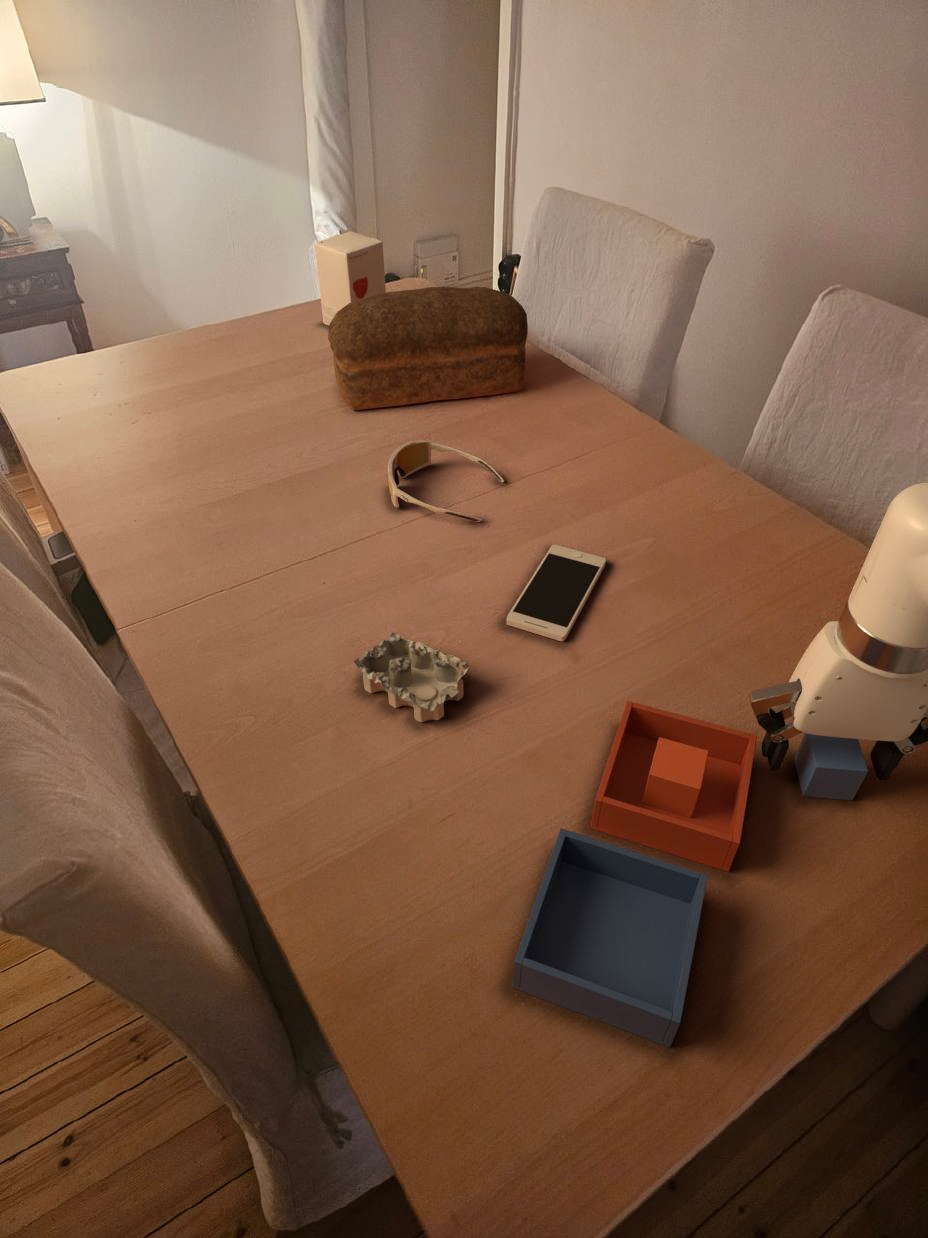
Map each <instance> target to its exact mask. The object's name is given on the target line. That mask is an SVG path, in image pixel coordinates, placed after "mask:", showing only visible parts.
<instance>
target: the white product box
mask: <svg viewBox="0 0 928 1238" xmlns="http://www.w3.org/2000/svg"><path fill="white" fill-rule="evenodd" d="M383 242H384V241H382V240H380V239H377V238H374V237H371V236H366V235H364V234H361V233H359V232H356V231H353V230H350V231H347V232H344V233H340V234H337V235H333V236H330V237H328V238H325V239H321V240H318V241H315V242H314V253H315V262H316V268H317V270H316V271H317V279H318V286H319V295H320V304H321V305H320V306H321V313H322V322H323V325H326V326H328V327H329V324H330V322H331V321H332V319H333V318H334V316H335V315H336V313H337V312H338V311H339V310H341V309H342V308H343V307H345V306H346V305H347V304H349V303H352V302H355V301H358V300H362V299H365V298H368V297H371V296H374V295H378V294H382V293H386V292H387V290H386V273H385V259H384V258H385V257H384V245H383V244H384V243H383Z"/></svg>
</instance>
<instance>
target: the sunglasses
mask: <svg viewBox="0 0 928 1238" xmlns="http://www.w3.org/2000/svg"><path fill="white" fill-rule="evenodd" d="M432 450H434V451H438V452H441V453H453V454H458V455H460V456H462V457H465V458H466V459H468V460H470V461H473V462H476V463H478V464H480V465H481V466H483V467H484V468H486V470H488V471H489V472H490V473H491V474H492V475H493V476H494V477H495V478H496V479H497V480H498V481H499V482H500V483H505V480H504V478H502V476H501V475H500V473H498V472H497V471H496V470H495V468H493V467H492V466H491V465H489V464H488V463H487V462H486V461H485V460H483V459H481V458H480V457H478V456H475V455H472V454H470V453H467V452H465V451H462V450H459V449H458V448H454V447H451V446H448V445H445V444H440V443H437V442H432V441H429V440H427V439H420V440H409V441H406V442H404V443H403V444H401V445H400V446H398V447H397V448H396V449H394V451H393V452H392V454H391V455H390V457H389V460H388V463H387V464H388V465H387V470H388V472H387V480H388V491H389V494H390V497H391V502H392V505H393V507H395V508H400V504H399V499H398V498H400V499H402V500H403V501H405V502H406V503H410V504H414V505H417V506H419V507H423V508H426V509H428V510H429V511H432V512H435V513H438V514H443V515H448V516H452V517H456V518H460V519H464V520H467V521H471V522H476V523H480V522H482V521H483V519H482V518H479V517H476V516H473V515H468V514H464V513H462V512H457V511H455V510H451V509H448V508H442V507H437V506H434V505H431V504H428V503H427V502H423V501H422V500H419V499H417V498H415V497H413V496H411V495H409V494H408V493H406V492H404V491H403V490H402V489H400V488H398V486H399V485H400V478H404V479H405V478H407V477H408V476H410V475H411V474H414V473H415V472H417V471H419V470H421V469H423V468H424V467H427V466H429V465H430V464H431V462H432V461H431V460H432Z"/></svg>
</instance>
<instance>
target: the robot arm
mask: <svg viewBox="0 0 928 1238" xmlns="http://www.w3.org/2000/svg"><path fill="white" fill-rule="evenodd" d="M868 550H869V551H868V552H867V555H866V557H865V560H864V562H863V564H862V567H861V569H860V570H859V574H858V576H857V577H856V580H855V582H854V585H853V588H852V589H851V592H850V594H849V596H848V599H847V601H846V603H845V605H844V607H843V610H842V612H841V615H840V616H839V619H838V620H830V621H828V622H827V623H826V624H825V625H824V626H823V627H822V628H821V629H820V631H818V633H817V634H816V635H815V637H814V638H813V639H812V641H811V642H810V644H809V645H808V646H807V648H806V650H805V651H804V653H803V655H802V656H801V657H800V660H799V662H798V663H797V665H796V667H795V669H794V670H793V672H792V675H791V677H790V678H789V681H788V682H785V683H781V684H776V685H773V686H772V685H771V686H769V687H764V688H759V689H755V690H751V691H750V692H749V693H748V696H749V702H750V706H751V708H752V711H753V715H754V716H755V718H756V720H757V724H758V725H759V726H760V727H761V728H762V729H763V730H764V731H765V732H766V733H765V734H764V736H763V738H762V742H761V747H760V748H761V754H762V757H763V758H767V763H768V769H769V772H770V771H771V772H777V771H778V770H780V768H781V766H782V764H783V762H784V759H785V757H786V755H787V753H788V750H789V748H790V742H789V740H790V739H792V738H794V737H796V736H798V735H800V734H802V733H808V734H812V735H820V736H830V737H841V738H852V739H858V740H866V741H875V743H874V745H873V747H872V749H871V751H870V753H869V756H870V757H869V758H870V760H871V763H872V766H873V769H874V773H875V776H876V779H877V780H878V781H882V782H887V781H888V779H889V778H890V776H891V774H892V773H893V771H894V769H896V768H897V767H898V766H899V764H900V762H901V761H902V759H903V757H904V756H905V755H909V754H913V753H914V752H915V751H916V747H917V746H919V745H922V744H925V743H927V742H928V482H927V481H926V482H922V483H917V484H916V483H915V484H913V485H911V486H908V487H907V488H905V489H903V490H902V491H900V492H899V493H898V494H897V495H896V496H895V497H894V498H893V499H892V501H891V502H890V503H889V506H888V508H887V509H886V512H885V513H884V516H883V518H882V521H881V522H880V525H879V528H878V530H877V532H876V535H875V537H874V539H873V541H872V544H871V546H870V548H869V549H868ZM777 706H779V707H777ZM772 707H776V708H774V709H773V708H772ZM791 717H792V721H791V722H789V723H786V720H788V719H789V718H791Z"/></svg>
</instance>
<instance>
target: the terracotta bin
mask: <svg viewBox="0 0 928 1238" xmlns="http://www.w3.org/2000/svg"><path fill="white" fill-rule="evenodd" d="M659 737H661V738H664V739H668V740H672V741H675V742H679V743H682V744H686V745H690V746H693V747H697V748H700V749H704V750H708V757H707V762H706V766H705V771H704V776H703V780H702V785H701V790H700V793H699V796H698V799H697V802H696V806H695V809H694V812H693V815H692V818H688V817H685V816H681V815H678V814H675V813H672V812H668V811H665V810H662V809H658V808H655V807H652V806H648V805H645V804H642V801H643V797H644V793H645V789H646V785H647V780H648V776H649V772H650V769H651V765H652V761H653V757H654V754H655V750H656V746H657V743H658V739H659ZM757 740H758V735H757V734H753V733H750V732H746V731H742V730H738V729H734V728H731V727H727V726H724V725H719V724H715V723H712V722H708V721H706V720H705V721H704V720H700V719H697V718H694V717H690V716H686V715H683V714H679V713H675V712H672V711H668V710H664V709H661V708H656V707H652V706H649V705H645V704H641V703H638V702H633V701H631V700H627V701H626V703H625V706H624V709H623V712H622V715H621V718H620V721H619V724H618V728H617V731H616V734H615V737H614V740H613V744H612V746H611V749H610V753H609V755H608V758H607V762H606V765H605V768H604V771H603V775H602V777H601V781H600V784H599V787H598V789H597V792H596V796H595V800H594V804H593V805H594V806H593V811H592V817H591V823H590V829H592V830H594V831H598V832H601V833H604V834H607V835H609V836H614V837H616V838H620V839H622V840H626V841H629V842H632V843H635V844H639V845H642V846H644V847H647V848H651V849H654V850H656V851H657V850H658V851H661V852H664V853H667V854H670V855H673V856H676V857H680V858H682V859H685V860H689V861H692V862H695V863H698V864H702V865H704V866H707V867H711V868H714V869H717V870H721V871H724V872H727V873H729V872H730V869H731V867H732V865H733V863H734V859H735V857H736V854H737V852H738V849H739V847H740V844H741V841H742V840H741V839H742V838H741V837H742V833H743V828H744V822H745V814H746V809H747V802H748V795H749V789H750V785H751V783H750V782H751V778H752V777H751V776H752V770H753V764H754V758H755V754H756V753H755V752H756V747H757Z"/></svg>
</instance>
